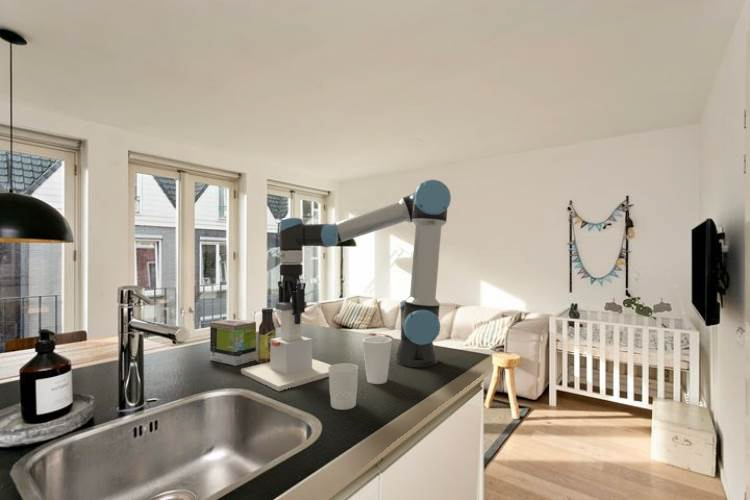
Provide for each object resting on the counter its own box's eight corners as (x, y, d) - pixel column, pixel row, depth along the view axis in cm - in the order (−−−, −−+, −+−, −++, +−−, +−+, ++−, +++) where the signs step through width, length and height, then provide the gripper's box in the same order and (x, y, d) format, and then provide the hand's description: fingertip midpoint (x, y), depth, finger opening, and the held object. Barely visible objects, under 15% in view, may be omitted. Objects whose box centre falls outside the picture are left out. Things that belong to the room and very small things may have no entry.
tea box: (257, 360, 143) (257, 321, 143) (234, 366, 135) (234, 325, 135) (231, 354, 151) (231, 317, 151) (209, 360, 143) (209, 321, 143)
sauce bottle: (270, 364, 137) (270, 310, 137) (254, 363, 138) (254, 309, 138) (278, 359, 143) (278, 307, 144) (263, 358, 145) (263, 307, 145)
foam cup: (395, 377, 123) (395, 337, 123) (387, 387, 114) (386, 344, 114) (368, 374, 126) (368, 335, 126) (357, 383, 117) (357, 341, 117)
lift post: (307, 366, 129) (306, 302, 129) (283, 372, 122) (283, 304, 123) (298, 363, 133) (298, 300, 133) (275, 368, 126) (275, 303, 126)
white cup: (329, 399, 104) (329, 363, 104) (357, 398, 105) (357, 362, 105) (328, 411, 96) (327, 372, 96) (358, 410, 97) (358, 371, 97)
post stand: (341, 372, 128) (341, 338, 128) (278, 391, 110) (278, 352, 111) (300, 358, 144) (300, 328, 145) (241, 373, 127) (241, 339, 127)
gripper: (267, 263, 131) (267, 330, 131) (296, 264, 119) (296, 338, 119) (286, 263, 137) (286, 327, 137) (316, 264, 124) (316, 334, 124)
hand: (291, 332), depth 128 cm, fingers closed on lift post, 5 cm apart
